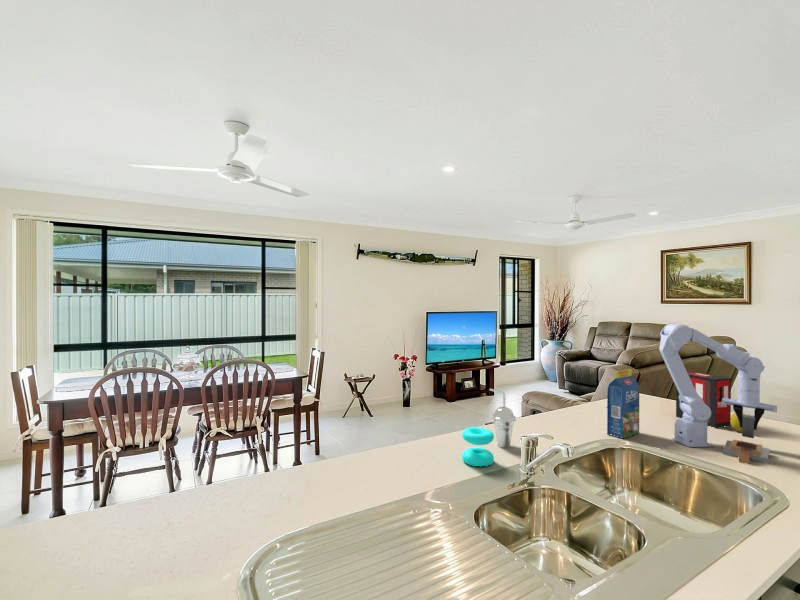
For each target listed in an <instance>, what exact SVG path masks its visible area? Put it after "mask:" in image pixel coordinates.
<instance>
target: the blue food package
mask: <svg viewBox="0 0 800 600" xmlns="http://www.w3.org/2000/svg"><path fill="white" fill-rule="evenodd" d="M614 373H615V374H614V379H613V380H612V381H611V382H610V383H609V384H608V387H607V395H606V398H607V400H606V403H607V404H606V405H607V410H606V412H607V413H606V414H607V415H606V421H607V423H606V425H607V426H606V427H607V428H606V430H607V431H606V434H607V435H608V434H612V435H615V436H618V437H622V438H624V439H627V438H629V436H630V437H633V436H632V435H634V436H635V434H636V435H637V434H640V387H639V382H637V380H636V379H635V377H634V376H633V375H632V374H633V369H632V368H629V369H623V370H616V371H615V372H614ZM626 437H627V438H626Z"/></svg>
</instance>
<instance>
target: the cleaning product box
mask: <svg viewBox="0 0 800 600" xmlns="http://www.w3.org/2000/svg"><path fill="white" fill-rule="evenodd" d="M686 371H687V373H688V375H689V377H690V380H691V382H692V384H693V386H694V388H695V390H696V392H697V394H698V395H699V396H700V397H701V398H702V400H703V402H704V403H705V404H706V405H707V406H708V407H709V408H710V410H711V416H710V418H709V419H708V420H707V427H709V426H711V427H710V428H712V427H714V428H713V429H719V428H718V427H722V428H725V427H724V426H729V427H732V426H731V423H730V419H731V416H732V415H731V411H732V409H731V408H732V405H728V404H726V405H725V404H722V399H723V398H727V399H732V398H731V396H732V392H731V391H732V388H731V387H732V379H731V377H724V376H719V375H715V374H714V375H713V374H708V373H702V372H697V371H692V370H690V371H688V370H686ZM675 390H676V391H675V394H676V396H675V417H676V418H678V419H681V418H682V417H683V411H682V410H681V409H680V400H679V398H678V397H679V395H680V394H679V392H678V390H677V388H676V387H675Z"/></svg>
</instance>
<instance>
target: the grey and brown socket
mask: <svg viewBox="0 0 800 600" xmlns="http://www.w3.org/2000/svg"><path fill="white" fill-rule="evenodd" d="M725 442H726V443H725V445H724V446H723V455H725V456H729V455H730V456H729V457H734V458H738V457H739V458H738V463H742V464H746V463H747V465H749V464H750V462H751V461H752V462H756V463H762V464H766V465H769V459H770V448H767V447H763V444H759V443H753V442H747V441H743V440H738V439H733V440H729V439H728V440H726V441H725Z"/></svg>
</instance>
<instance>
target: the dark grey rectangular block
mask: <svg viewBox="0 0 800 600" xmlns="http://www.w3.org/2000/svg"><path fill="white" fill-rule="evenodd" d="M754 421H755V415H751V414H750V415H749V414H744V413H743V416H742V431H741V433H742V434H741V436H742V437H744V438H749V439H755V430H754Z"/></svg>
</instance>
